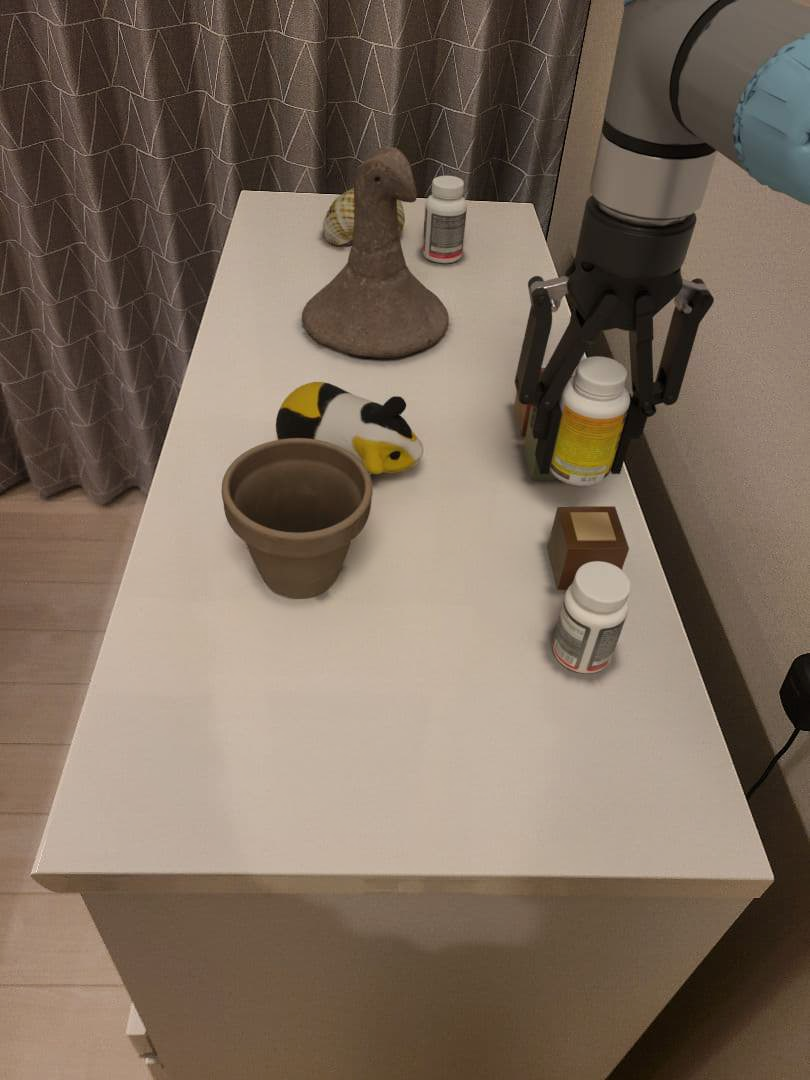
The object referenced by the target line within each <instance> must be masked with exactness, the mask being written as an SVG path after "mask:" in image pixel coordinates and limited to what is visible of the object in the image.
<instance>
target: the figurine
mask: <svg viewBox="0 0 810 1080" xmlns="http://www.w3.org/2000/svg"><path fill="white" fill-rule="evenodd" d="M406 408H407V402H406V400H405V399H404V398H403V397H402V396H397V395H396V396H395V395H394V396H391V397H390V398H389V399H387V400H386V401H385V402H384V404H380V403H378V402H375V401H373V400H370V399H366V398H363V397H361V396H358V395H355V394H353V393H351V392H349V391H347V390H345V389H343V388H341V387H339V386H336V385H334V384H332V383H329V382H324V381H313V382H308V383H305V384H302V385H299V386H298V387H297V388H295V389H294V390H292V391H291V392H290V393H289V394H288V395H287V396H286V397H285V398H284V400H283V402H282V403H281V405H280V407H279V409H278V411H277V415H276V419H275V432H276V433H275V434H276V436H277V440H280V439H288V438H307V439H315V440H321V441H325V442H329V443H332V444H335V445H337V446H340V447H342V448H343V449H345V450H347V451H349V452H351V453H352V454H353V455H354V456H356V457H357V458H358V459H359V460H360V461H361V462H362V463H363V464H364V466H365V467H366V469H367V470H368V472H369V475H373V474H374V475H380V474H382V473H387V474H394V473H400V472H403V471H406V470H409V469H412V468H415V466H416V465H417V464H418V463H419V462H420V461H421V458H422V457H423V455H424V445H423V442H422V441H421V440H420V438H419V437H418V436H417V435H416V434H415V432H414V431H413V430H412V428H411V426H410V425H409V423H408V422H407V421H406V419H405V418H404V417H403V416H401V415H402V414H403V413H404V411H405V410H406Z"/></svg>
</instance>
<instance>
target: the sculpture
mask: <svg viewBox="0 0 810 1080" xmlns="http://www.w3.org/2000/svg"><path fill="white" fill-rule="evenodd" d="M353 181H354V182H353V183H354V184H353V188H354V209H355V213H354V230H353V240H352V244H351V247H350V249H349V254H348V258H347V262H346V264H345V265H344V266H343V268H342V269H341V270H340V271H339V272H338V273H337V275H335V277H333V278H332V280H331V281H330V282H329V283H327V284H326V285H325V286H324V287H322V288H321V289H320V290H319V291H317V292H316V293H315V294H314V295H313V296H312V297H311V298H310V299H308V301H307V303H305V306H304V307H303V309H302V312H301V322H302V325H303V327H304V328H305V330H306V331H307V332H308V333H309V335H310V336H311V337H312V338H313V339H314V340H315V341H317V342H318V343H320V344H322V345H324V346H326V347H328V348H331V349H333V350H337V351H340V352H342V353H346V354H350V355H352V356H356V357H357V356H358V357H366V358H373V359H389V358H390V359H391V358H394V359H396V358H400V357H405V356H407V355H408V356H409V355H412V354H415V353H418V352H420V351H425V350H426V349H428V348H429V347H432V346H434V345H435V344H436V343H437V342H439V341H440V340H441V338H442V337H443V336H444V335H445V332H446V331H447V328H448V326H449V313H448V310H447V309H448V308H446V306H445V305H444V303H443V302H442V300H440V298H439V297H438V296H437V295H436V294H435V293H434V292H432V291H431V290H430V289H429V288H427V286H425V285H424V284H423V283H422V282H421V281H420V280H419V279H418V278H417V277H415V275H414V274H413V273H412V272H411V270H410V269H409V267H408V266H407V264H406V259H405V256H404V251H403V248H402V242H401V236H400V234H399V228H398V216H397V199H398V200H400V201H401V202H402V203H411V204H412V203H414V202H416V201H417V197H418V192H417V187H416V183H415V179H414V173H413V170H412V167H411V164H410V163H409V160H408V158H407V156H405V154H404V153H403V152H402V151H401V150H399V148H397V147H394V146H389V145H385V146H381V147H379V148H377V149H376V150H374V151H373V152H372V153H371V154H370V156H369V157H368V159H366V160H364V161H363V162H362V163H361V164H360V165H359V166H358V167H357V169H356V172H355V175H354V180H353Z"/></svg>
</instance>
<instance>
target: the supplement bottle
mask: <svg viewBox="0 0 810 1080" xmlns="http://www.w3.org/2000/svg"><path fill="white" fill-rule="evenodd" d="M627 377H628V372H627V369H626V367H625V365H623V364H622V363H620V362H619V361H617V360H615V359H613V358H610V357H608V356H607V357H606V356H598V355H597V356H589V357H585V358H583V359H581V360H580V362H579V364H578V366H577V367H576V369H575V373H574V375H573V376H572V378H571V379H570V380H569V381H568V383H567V385H566V387H565V388H564V390H563V392H562V394H561V395H560V400H559V405H560V408H561V411H562V416H561V420H560V425H559V429H558V434H557V438H556V443H555V447H554V452H553V456H552V461H551V465H550V471H551V472H552V473H553V475H554V476H555V477H557V478H558V479H557V480H559V481H561V482H563V483H565V484H567V485H571V486H574V487H582V488H583V487H593V486H597V485H599V484H602V483H603V482H604V481H605V480H607V479H608V477H609V476H610V473H611V468H612V464H613V461H614V458H615V454H616V450H617V447H618V444H619V440H620V436H621V433H622V429H623V426H624V422H625V419H626V415H627V412H628V408H629V404H630V395H629V394H630V393H629V391H628V389H627V388H626V382H627V381H626V380H627Z"/></svg>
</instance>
